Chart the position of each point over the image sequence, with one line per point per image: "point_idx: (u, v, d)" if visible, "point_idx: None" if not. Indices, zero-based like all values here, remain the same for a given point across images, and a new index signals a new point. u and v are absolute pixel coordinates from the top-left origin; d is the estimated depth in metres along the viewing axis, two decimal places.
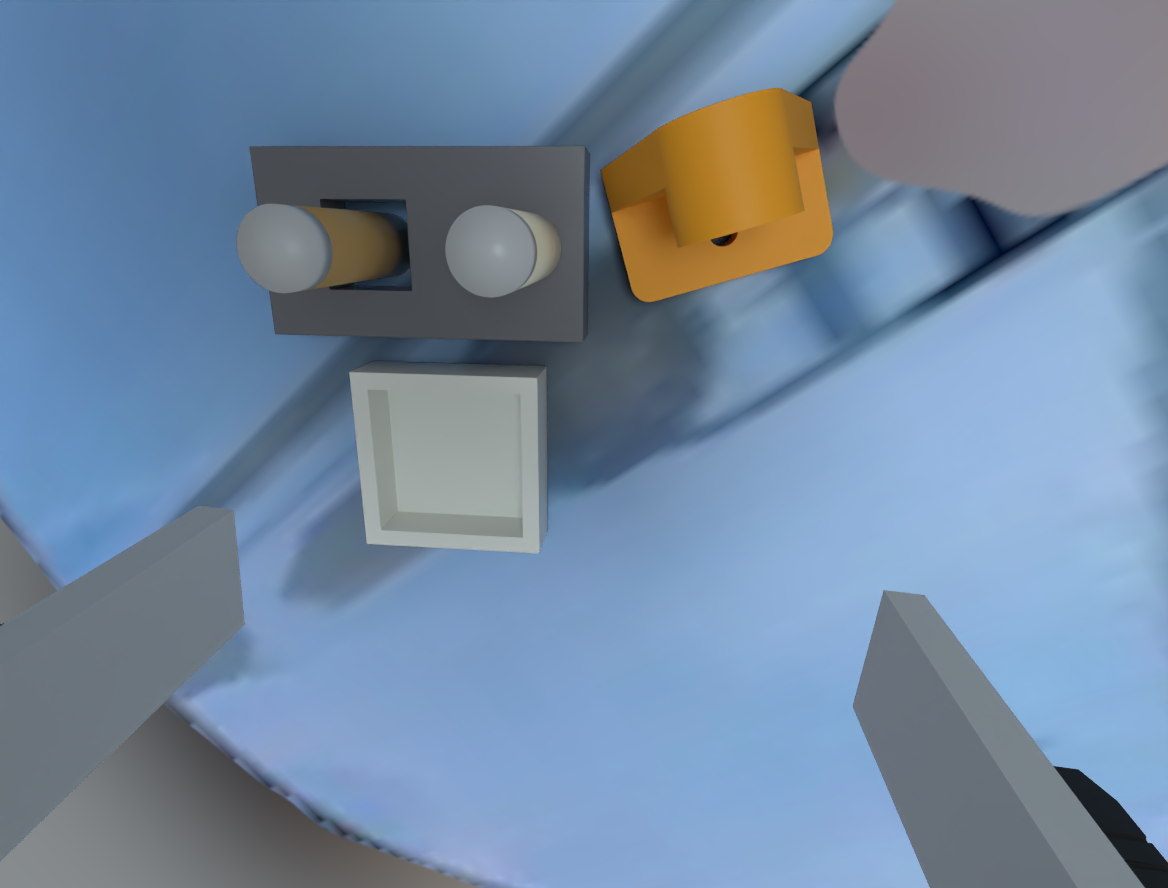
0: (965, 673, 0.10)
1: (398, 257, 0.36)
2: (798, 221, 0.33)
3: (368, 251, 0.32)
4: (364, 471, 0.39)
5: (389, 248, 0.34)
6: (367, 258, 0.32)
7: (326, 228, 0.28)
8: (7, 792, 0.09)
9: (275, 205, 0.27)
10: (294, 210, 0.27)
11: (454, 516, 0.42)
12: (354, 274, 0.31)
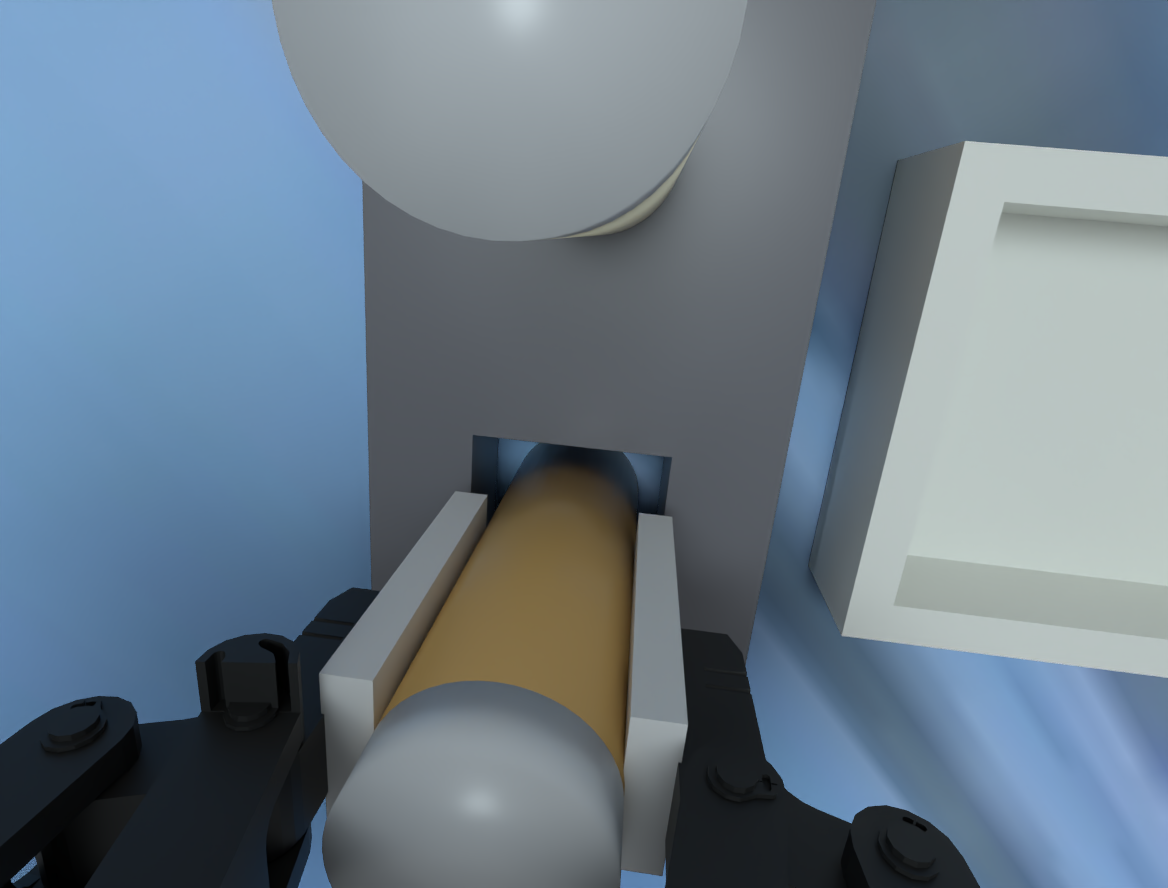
0: (660, 566, 0.12)
1: (595, 472, 0.16)
2: None
3: (554, 546, 0.12)
4: (1109, 658, 0.15)
5: (567, 490, 0.14)
6: (571, 554, 0.12)
7: (434, 681, 0.08)
8: None
9: (326, 843, 0.08)
10: (342, 791, 0.08)
11: None
12: (606, 599, 0.11)
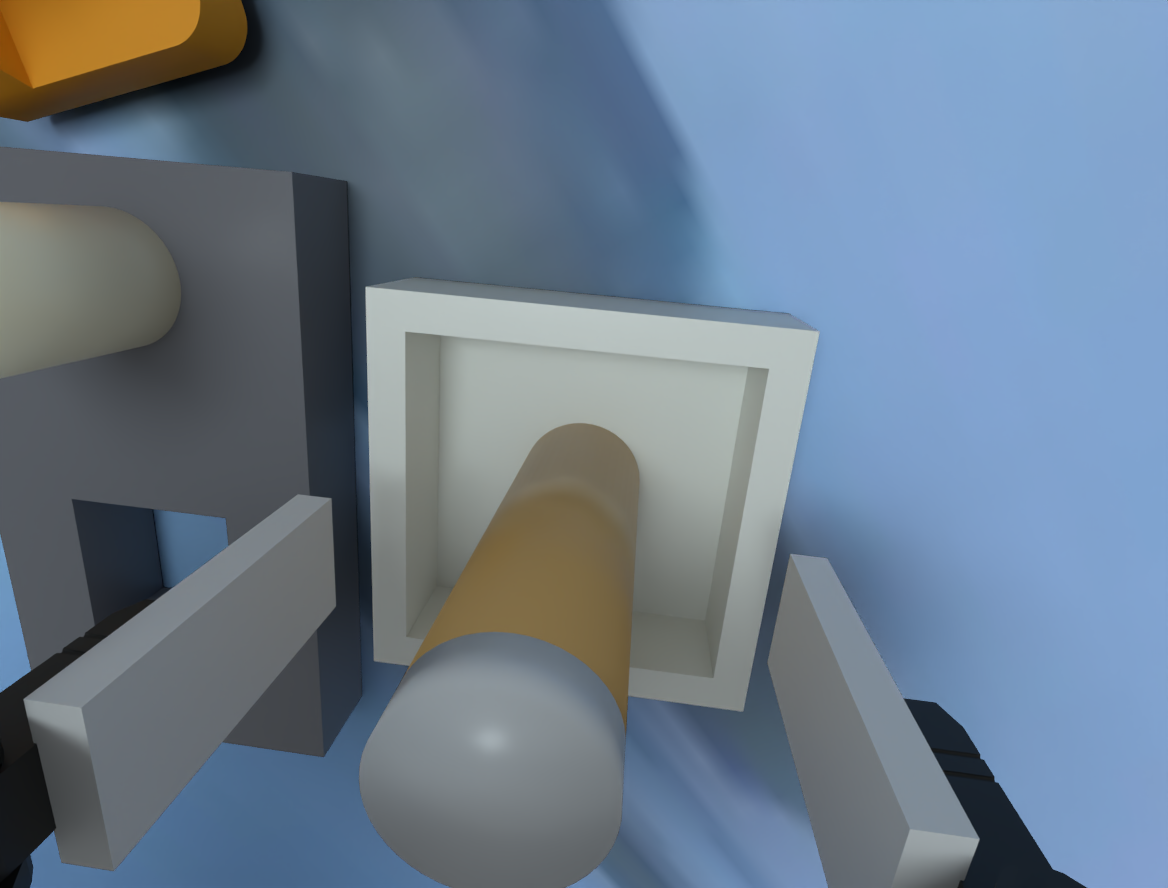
0: (845, 621, 0.11)
1: (599, 458, 0.17)
2: None
3: (561, 522, 0.13)
4: None
5: (573, 474, 0.15)
6: (577, 529, 0.13)
7: (456, 633, 0.10)
8: (170, 748, 0.10)
9: (362, 772, 0.09)
10: (378, 724, 0.09)
11: (724, 515, 0.20)
12: (609, 569, 0.12)
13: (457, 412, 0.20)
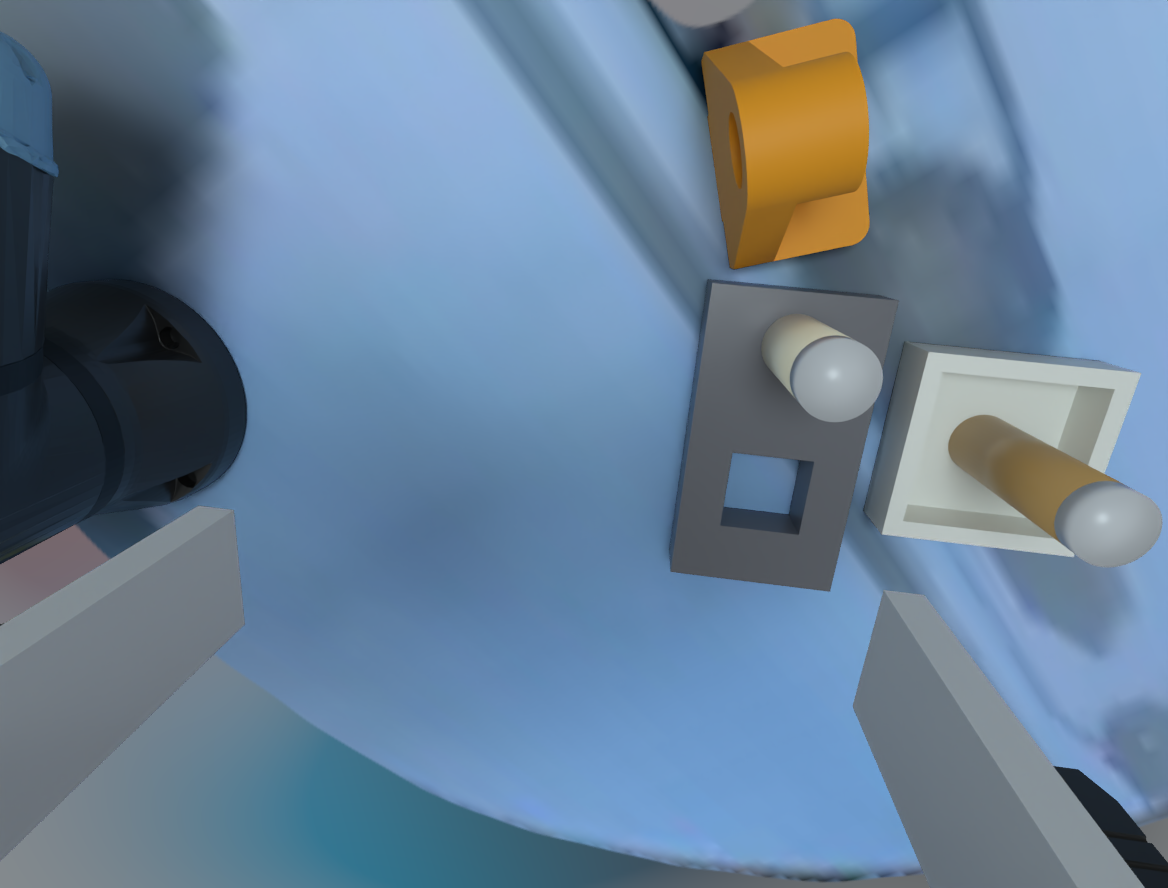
0: (965, 673, 0.10)
1: (1023, 431, 0.36)
2: None
3: (1062, 453, 0.32)
4: (989, 542, 0.38)
5: (1030, 436, 0.35)
6: (1070, 456, 0.32)
7: (1087, 482, 0.29)
8: (7, 792, 0.09)
9: (1076, 522, 0.28)
10: (1085, 506, 0.28)
11: None
12: None
13: None
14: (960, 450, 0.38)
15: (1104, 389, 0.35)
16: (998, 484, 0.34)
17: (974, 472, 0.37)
